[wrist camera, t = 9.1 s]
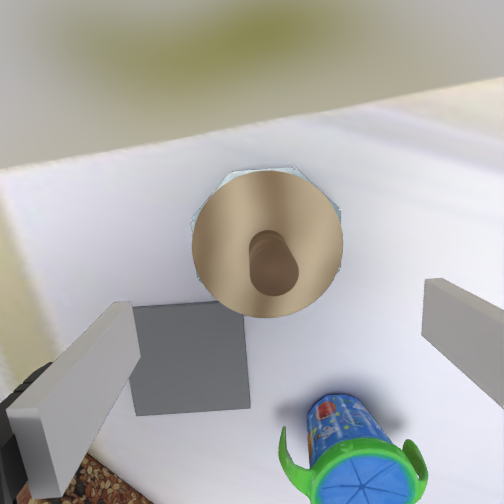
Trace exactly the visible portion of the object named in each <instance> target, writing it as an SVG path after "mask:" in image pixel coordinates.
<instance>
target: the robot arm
mask: <svg viewBox="0 0 504 504" xmlns="http://www.w3.org/2000/svg"><path fill="white" fill-rule="evenodd" d="M421 335H422V336H423V337H424V338H425V339H426V340H427V341H428V342H430V343H431V344H432V345H433V346H434V347H435V348H436V349H437V350H438V351H440V352H441V353H442V354H443V355H444V356H445V357H446V358H447V359H448V360H450V361H451V362H452V363H453V364H454V365H455V366H456V367H457V368H458V369H460V370H461V371H462V372H463V373H464V374H465V375H466V376H467V377H468V378H469V379H471V380H472V381H473V382H474V383H475V384H476V385H477V386H478V387H479V388H481V389H482V390H483V391H484V392H485V393H486V394H487V395H488V396H489V397H491V398H492V399H493V400H494V401H495V402H496V403H497V404H498V405H499V406H501V407H502V408H503V409H504V310H502V309H500V308H499V307H497V306H495V305H493V304H491V303H489V302H487V301H485V300H483V299H481V298H479V297H477V296H476V295H474V294H472V293H470V292H468V291H466V290H464V289H462V288H460V287H458V286H456V285H454V284H452V283H451V282H449V281H447V280H445V279H443V278H434V279H425V284H424V300H423V316H422V332H421ZM140 357H141V356H140V350H139V344H138V338H137V332H136V326H135V320H134V315H133V309H132V303H131V301H128V302H115V303H113V304H112V305H111V306H110V307H109V308H108V309H107V310H106V311H105V312H104V313H103V314H102V315H101V316H100V317H99V318H98V319H97V320H96V321H95V322H94V323H93V324H92V325H91V326H90V327H89V328H88V329H87V330H86V331H85V332H84V333H83V334H82V335H81V336H80V337H79V338H78V339H77V340H76V341H75V342H74V343H73V344H72V345H71V346H70V347H69V348H68V349H67V350H66V351H65V352H64V353H63V354H62V355H61V356H60V357H59V358H58V359H57V360H56V361H55V362H49V363H48V364H46V365H44V366H43V367H41V368H39V369H38V370H36V371H34V372H33V373H32V374H31V375H30V376H29V377H28V378H27V379H26V380H25V381H24V382H23V384H20V385H19V386H18V387H17V388H16V389H15V390H14V392H13V393H11V394H10V395H9V396H8V397H7V398H6V399H5V400H4V401H2V402H1V403H0V504H19V503H18V500H17V495H18V494H19V492H20V491H21V489H22V488H23V487H24V485H25V484H26V482H27V483H28V486H29V490H30V493H31V496H32V499H45V498H57V497H62V496H63V494H64V492H65V490H66V489H67V487H68V485H69V483H70V482H71V480H72V478H73V476H74V474H75V473H76V471H77V469H78V467H79V466H80V464H81V462H82V460H83V458H84V457H85V455H86V453H87V451H88V450H89V448H90V446H91V444H92V442H93V441H94V439H95V437H96V435H97V434H98V432H99V430H100V428H101V426H102V425H103V423H104V421H105V419H106V417H107V416H108V414H109V412H110V410H111V409H112V407H113V405H114V403H115V401H116V400H117V398H118V396H119V394H120V393H121V391H122V389H123V387H124V385H125V384H126V382H127V380H128V378H129V377H130V375H131V373H132V371H133V369H134V368H135V366H136V364H137V362H138V361H139V359H140Z"/></svg>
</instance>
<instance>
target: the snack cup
mask: <svg viewBox="0 0 504 504" xmlns="http://www.w3.org/2000/svg"><path fill="white" fill-rule="evenodd" d="M307 431H308V450H309V464H310V469H304V468H302V467H300V466H298V465H295V464H294V462H293V461H292V458H291V457H290V455H289V453H288V450H287V446H286V427H285V426H284V427H283V428H282V432H281V437H280V442H279V452H278V453H279V460H280V463H281V465H282V468H283V470H284V472H285V474H286V475H287V477H288V478H289V480H290V481H291V483H292V484H293V485H294V486H295V487H296V488H297V489H298V490H299V491H301V492H302V493H303V494H305V495H306V496H307V497H308V498H309V499H310V501H311V504H415V503H416V502H418V500H420V499H421V497H422V495H423V493H424V491H425V488H426V485H427V481H428V471H427V467H426V464H425V462H424V460H423V457H422V455H421V453H420V451H419V449H418V447H417V446H416V444H415V443H414V442H413V441H412V440H409V439H407V440H406V441H405V442H404V445H403V449H402V450H401V449H400V448H398V447H397V446H396V445H394V444H393V443H392V442H391V440H390V439H389V438H388V437H387V435H386V434H385V433H384V432H383V430H382V428H381V427H380V426H379V424H378V423H377V422H376V421H375V419H374V418H373V417H372V416H371V414H370V413H369V412H368V410H367V409H366V408H365V407H364V406H363V405H362V404H361V403H360V401H359V400H358V399H356V398H355V397H351V396H347V395H327V396H324V397H323V398H322V399H321V400H320V401H319V402H317V403H316V404H315V405H314V406H313V408H312V409H311V411H310V412H309V414H308V419H307ZM416 473H417V474H416ZM417 475H418V476H419V479H418V477H417Z"/></svg>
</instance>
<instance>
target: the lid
mask: <svg viewBox="0 0 504 504" xmlns="http://www.w3.org/2000/svg"><path fill="white" fill-rule="evenodd" d="M342 253H343V234H342V229H341V224H340V221H339V218H338V215H337V213H336V211H335V209H334V208H333V206H332V204H331V203H330V201H329V200H328V199H327V197H326V196H325V195H324V194H323V193H322V192H321V191H320V190H319V189H318V188H316V187H315V186H314V185H313V184H311V183H309V182H308V181H306V180H304V179H303V178H300V177H298V176H296V175H293V174H289V173H285V172H280V171H258V172H252V173H248V174H244V175H241V176H239V177H237V178H235V179H232V180H231V181H229V182H227V183H226V184H224V185H223V186H222V187H220V188H219V189H218V190H217V191H216V192H215V193H214V194H213V195H212V196H211V197H210V198H209V199H208V201H207V202H206V203H205V205H204V206H203V208H202V210H201V211H200V213H199V215H198V218H197V220H196V223H195V227H194V231H193V237H192V254H193V260H194V264H195V267H196V270H197V273H198V275H199V277H200V279H201V281H202V283H203V284H204V286H205V287H206V289H207V290H208V291H209V292H210V293H211V295H212V296H213V297H214V298H216V299H217V300H218V301H219V302H220V303H222V304H223V305H225V306H226V307H228V308H229V309H231V310H233V311H235V312H238V313H241V314H243V315H247V316H251V317H258V318H275V317H282V316H286V315H290V314H293V313H295V312H298V311H300V310H302V309H304V308H305V307H307V306H309V305H310V304H312V303H313V302H314V301H316V300H317V299H318V298H319V297H320V296H321V295H322V294H323V293H324V292H325V291H326V289H327V288H328V287H329V286H330V284H331V283H332V281H333V279H334V277H335V275H336V273H337V271H338V268H339V265H340V263H341V258H342Z"/></svg>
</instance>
